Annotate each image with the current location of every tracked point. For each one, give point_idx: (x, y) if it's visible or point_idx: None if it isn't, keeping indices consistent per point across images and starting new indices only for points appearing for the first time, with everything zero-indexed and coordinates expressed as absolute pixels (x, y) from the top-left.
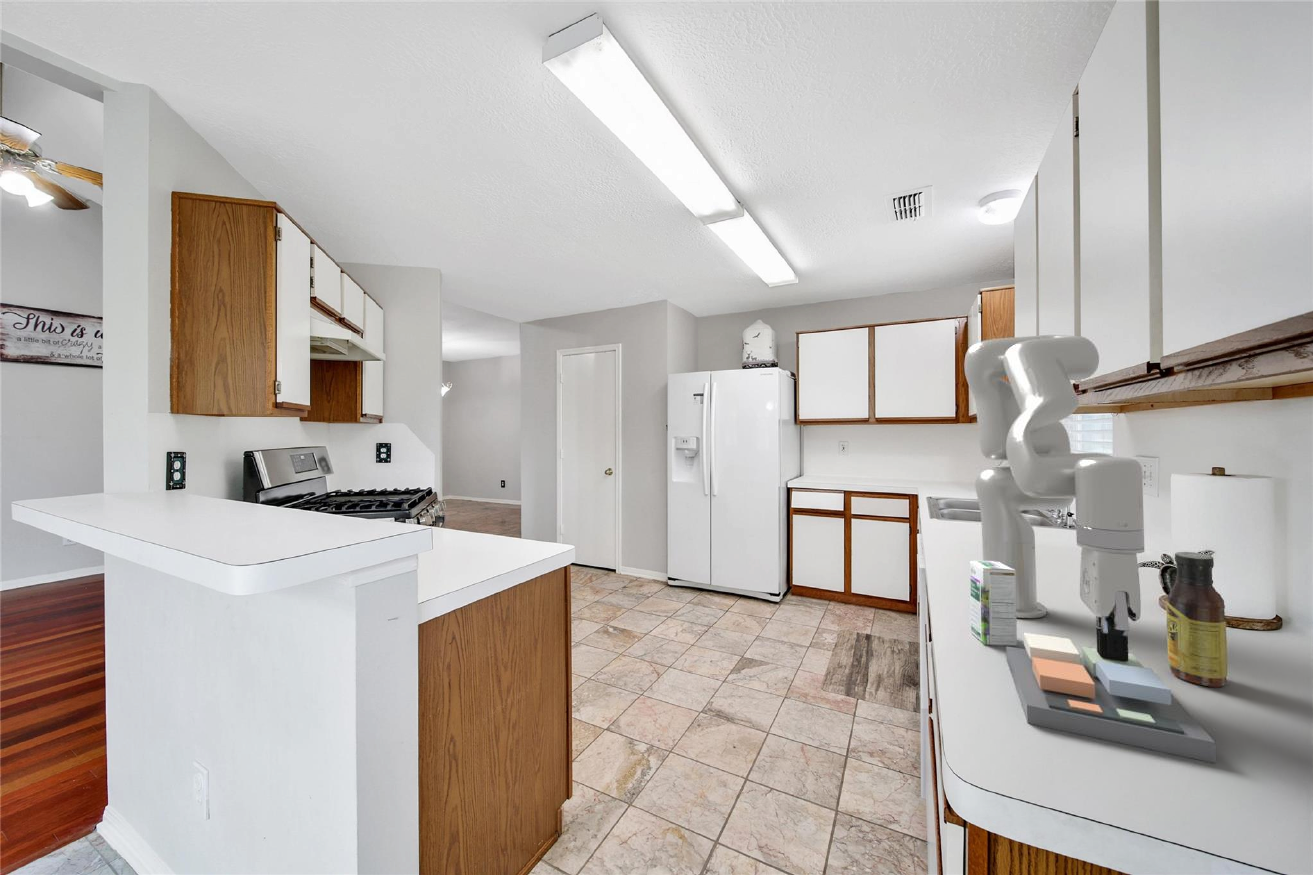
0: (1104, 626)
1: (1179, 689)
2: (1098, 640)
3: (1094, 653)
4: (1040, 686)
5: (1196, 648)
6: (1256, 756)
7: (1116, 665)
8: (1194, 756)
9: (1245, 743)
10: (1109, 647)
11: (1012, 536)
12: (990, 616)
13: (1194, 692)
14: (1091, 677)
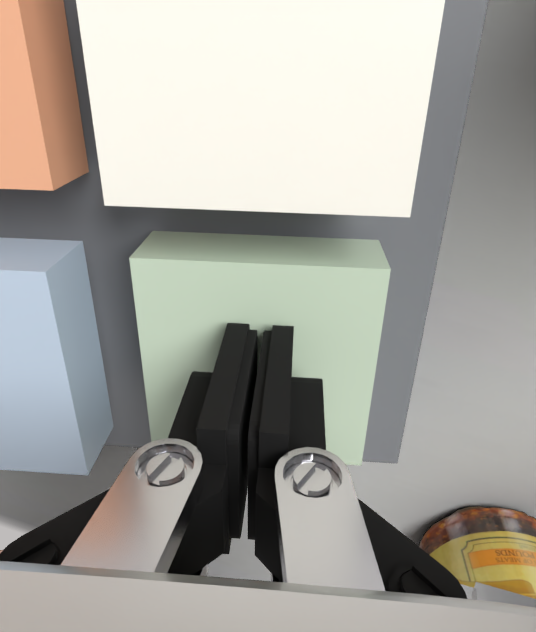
0: (110, 499)
1: (374, 478)
2: (272, 377)
3: (296, 307)
4: None
5: None
6: (14, 477)
7: (35, 353)
8: None
9: (75, 484)
10: (186, 398)
11: None
12: None
13: (365, 502)
14: (178, 223)
